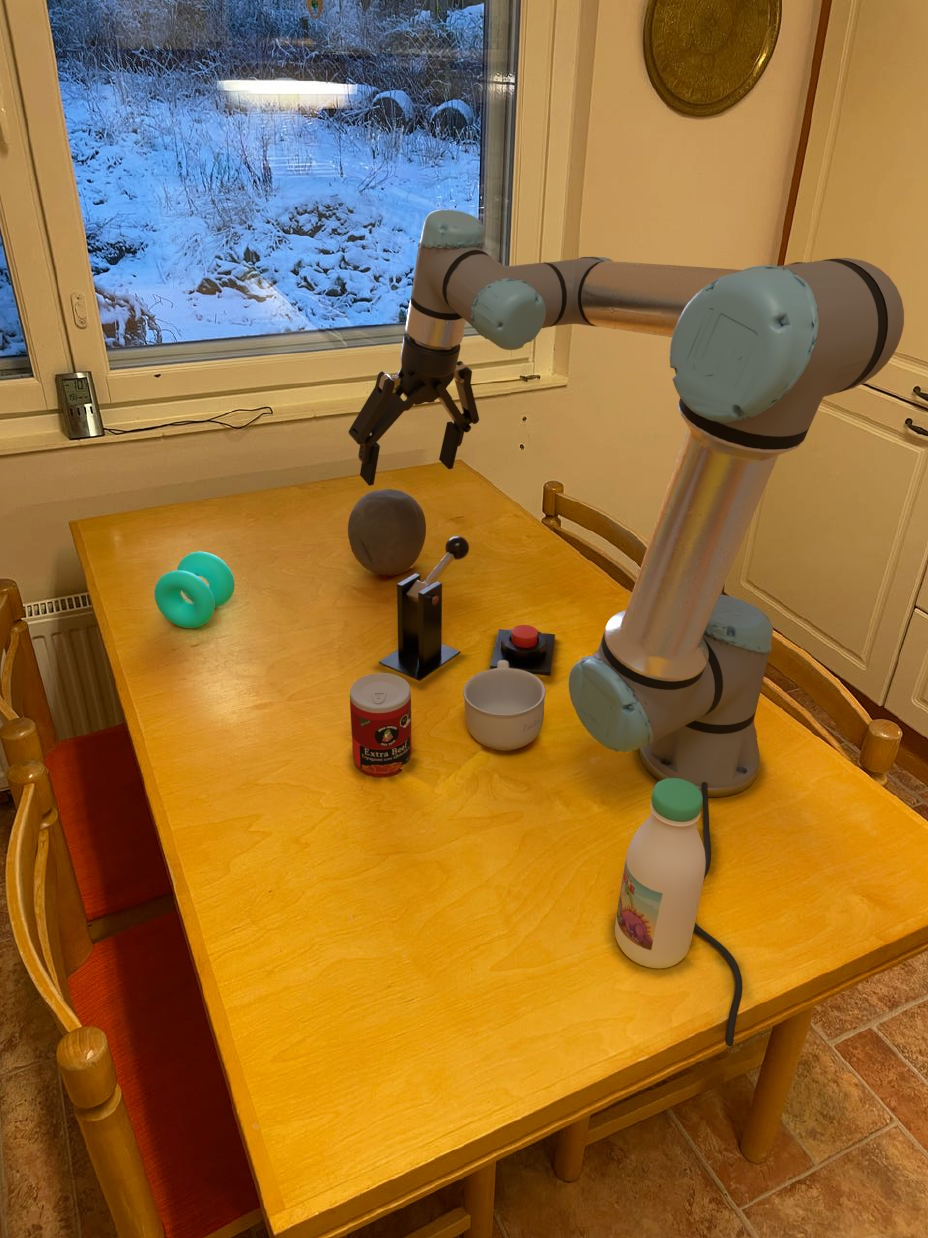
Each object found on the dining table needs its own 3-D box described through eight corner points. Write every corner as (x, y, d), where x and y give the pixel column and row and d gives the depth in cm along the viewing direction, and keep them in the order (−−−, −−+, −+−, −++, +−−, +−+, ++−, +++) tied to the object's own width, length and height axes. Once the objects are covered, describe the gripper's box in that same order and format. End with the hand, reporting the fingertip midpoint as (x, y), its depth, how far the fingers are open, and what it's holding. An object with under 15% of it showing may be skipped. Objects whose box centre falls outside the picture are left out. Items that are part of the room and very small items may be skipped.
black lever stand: (420, 641, 144) (419, 563, 137) (460, 657, 140) (462, 578, 133) (378, 668, 137) (376, 587, 130) (419, 686, 133) (419, 604, 126)
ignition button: (536, 649, 136) (537, 639, 135) (509, 647, 137) (510, 636, 136) (538, 636, 140) (539, 625, 139) (512, 633, 140) (513, 623, 139)
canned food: (358, 783, 114) (355, 712, 108) (348, 745, 121) (344, 676, 115) (417, 773, 116) (417, 703, 110) (404, 736, 122) (403, 668, 117)
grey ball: (438, 580, 162) (438, 503, 154) (361, 593, 157) (358, 514, 149) (412, 548, 173) (411, 474, 165) (340, 559, 168) (336, 483, 161)
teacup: (536, 767, 117) (540, 717, 113) (454, 755, 119) (455, 706, 115) (549, 706, 129) (553, 659, 125) (474, 696, 131) (476, 649, 127)
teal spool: (155, 626, 146) (146, 571, 141) (186, 597, 154) (178, 545, 149) (212, 635, 144) (205, 580, 139) (240, 605, 152) (234, 552, 147)
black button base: (549, 681, 135) (551, 661, 133) (490, 675, 136) (490, 655, 134) (554, 643, 144) (555, 624, 142) (498, 637, 145) (499, 619, 143)
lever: (457, 544, 140) (451, 528, 137) (476, 551, 138) (470, 534, 135) (407, 605, 134) (401, 589, 131) (426, 612, 132) (420, 596, 129)
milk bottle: (679, 910, 97) (708, 765, 87) (697, 970, 91) (731, 820, 81) (608, 911, 97) (629, 765, 87) (621, 972, 90) (645, 821, 80)
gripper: (493, 315, 126) (463, 444, 140) (334, 331, 113) (318, 471, 127) (524, 341, 122) (490, 471, 136) (363, 361, 109) (343, 502, 123)
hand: (407, 471), depth 132 cm, fingers open, 13 cm apart
